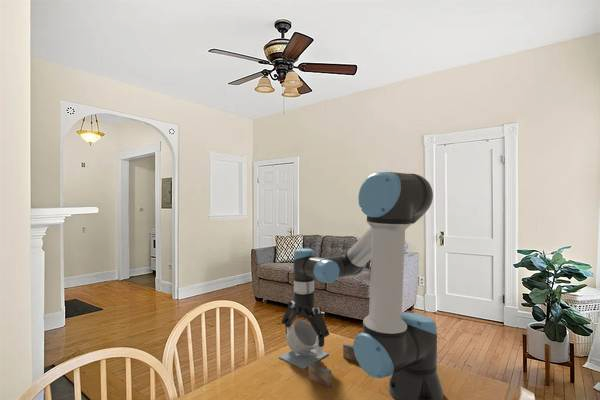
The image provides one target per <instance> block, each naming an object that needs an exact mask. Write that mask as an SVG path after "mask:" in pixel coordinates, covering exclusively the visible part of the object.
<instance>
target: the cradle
mask: <svg viewBox="0 0 600 400" xmlns="http://www.w3.org/2000/svg"><path fill="white" fill-rule="evenodd" d="M342 348H343V349H342V357H343V358H345V359H347V360H350V361H352V362H355V363H358V361H357V359H356V357H355V354H354V348H353V345H352V344H349V343H347V342H346V343H343V344H342ZM332 373H333V371H332V370H331V369H329V368H326V367H324V366H321V365H318V364H316V363H310V364H309V367H308V379H309V380H311V381H313V382H315V383H317V384H320V385H322V386H324V387H327V388H328V389H329V388H331V387H332V385H333V384H332V383H333V381H332V380H333V379H332Z"/></svg>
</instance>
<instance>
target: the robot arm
mask: <svg viewBox="0 0 600 400" xmlns="http://www.w3.org/2000/svg"><path fill="white" fill-rule="evenodd" d="M357 197H358V199H357V200H358V205H359V207H360V208H361V212H362V213H363V214H364V215H366V223H367V224H368V225H369V226H370V227H368V229H367V230H366V231H365V232H364V234H363V235H362V236H361V237H360V238H359V239H358V240H357V241H356V242H355V243H354V244H353V245H352V246H351V247H350V248H349V249H348V250H347V251H346V252H345V253H344V254H342V255H336V256H335V255H334V256H328V257H327V256H326V257H319V256H315V251H314V249H312V248H297V249H295V250H294V251H293V260H292V262H293V300H290V301H288V302H287V308H286V310H285V313H284V315H283V317H282V319H281V324H283V325H284V326H285V335H287V332H288V330H289V329H290V328H291V327H292V326H293V323H295V322H296V321H297V319H298V318H299V317H300V318H303V319H306V321H307V322H308V323H310V324H311V325H312V327H313V328H314V330H315V332H316V334H317V335H318V337H316V356H320V355H322V354H323V351H324V347H325V338H326V337H328V336H330V332H329V329H328V326H327V323H326V321H325V319H324V317H323V314H322V308H321V307H320V306H319V307H315V306H314V303H315V292H314V291H315V280H316V281H319V282H321V283H326V284H331V283H334V282H335V281H336V280H337V279H340V278H345V277H353V276H358V275H360V274H363V273H364V272H365V270H366V267H367V263H369V261H370V277H369V279H370V281H369V302H368V303H369V306H368V308H369V309H368V315H367V316H365V317H364V318H363V321H362V332H359V333H358V334H357V336H355V337H354V339H353V345H352V346H353V348H354V354H355V357H356V359H357V361H358V362H357V363H358V365H359V366H360V368H361V369H362V370H363V371H364V372H365V373H366V374H367V375H368V376H370V377H371V378H374V379H384V378H386V377H390V379H389V382H388V392H389V395H390V397H392V398H393V399H394V400H444V389H443V386H442V384H441V380H440V377H439V374H438V371H437V370H438V367H437V366H438V364H437V363H438V361H437V359H438V355H437V353H438V352H437V351H438V332H437V331H438V330H437V329H438V328H437V327H438V326H437V322H436V321H435V320H434V319H432V318H431V317H429V316H427V315H423V314H420V313H419V314H418V313H415V312H408V311H407V312H406V311H405V312H404V311H403V296H404V295H403V294H404V293H403V292H404V270H405V269H404V265H405V242H406V240H405V239H406V231H407V229H408V228H409V227H411V225H414V224H415V223H417V221H419V220H420V219H421V218H422V216H424V215H425V213H427V212H428V210H429V209H430V208H431V205H432V203H433V199H434V191H433V187H432V185H431V183H430V182H429V181H428V180H427V178H425V177H424V176H422V175H419V174H417V173H406V172H393V171H381V172H380V171H379V172H375V173H372V174H370V175H368V176H367V178H366V179H365V180H363V182H362V184H361V186H360V188H359V191H358V196H357ZM294 309H295V311H294ZM286 345H287V346H288V344H287V343H286Z"/></svg>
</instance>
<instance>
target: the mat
mask: <svg viewBox="0 0 600 400" xmlns="http://www.w3.org/2000/svg"><path fill="white" fill-rule="evenodd" d="M310 351H312V352H313V353H316V349H311V350H310ZM329 355H330V353H328V352H326V351H324V350H323V354H322V355H320V356H318V357H314V356H312V355H310V354H303V355H300V354H297V353H295V352H293V351H292V350H291V349H290V351H287V352H285V353H283V354H281V355H280V356H278V358H279V360H282V361H284V362H287V363H289V364H292V365H293V366H296V367H297V368H301V369H303V370H305V369H308V368H309V364H310V363H314V364H316V363H318V361H320V360H322V359H324V358H325V357H327V356H329Z"/></svg>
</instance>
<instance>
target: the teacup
mask: <svg viewBox="0 0 600 400" xmlns="http://www.w3.org/2000/svg"><path fill="white" fill-rule="evenodd" d="M285 335H286V334H285ZM316 337H318V335H317V334H316V332H315V330H314V328H313V327H312V325H311V323H310V322H309V321H308V320H304V319H299V320H295V321H294V324H292V327H291V328H290V329H289V330H288V332H287V335H286V337H285V338H286V345H287V344H288V345H287V346H288V348H289V349H290V351H291V350H292V351H293V352H295V353H297V354H300V355H303V354H310V355H312V356H314V357H318V356H316V353H313V352H312V351H310V350H311V349H316Z"/></svg>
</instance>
